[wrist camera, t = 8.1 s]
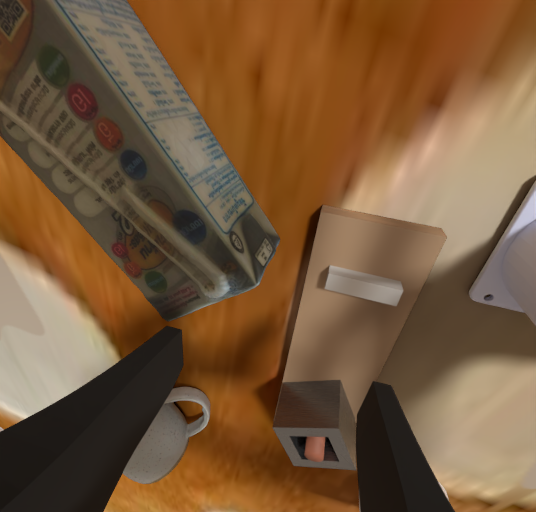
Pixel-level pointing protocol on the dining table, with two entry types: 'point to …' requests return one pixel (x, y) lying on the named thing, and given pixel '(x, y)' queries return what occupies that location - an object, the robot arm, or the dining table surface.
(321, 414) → the open square sleeve
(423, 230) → the board
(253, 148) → the dining table surface
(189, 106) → the beverage carton
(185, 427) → the ceramic mug
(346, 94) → the dining table surface
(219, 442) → the dining table surface
